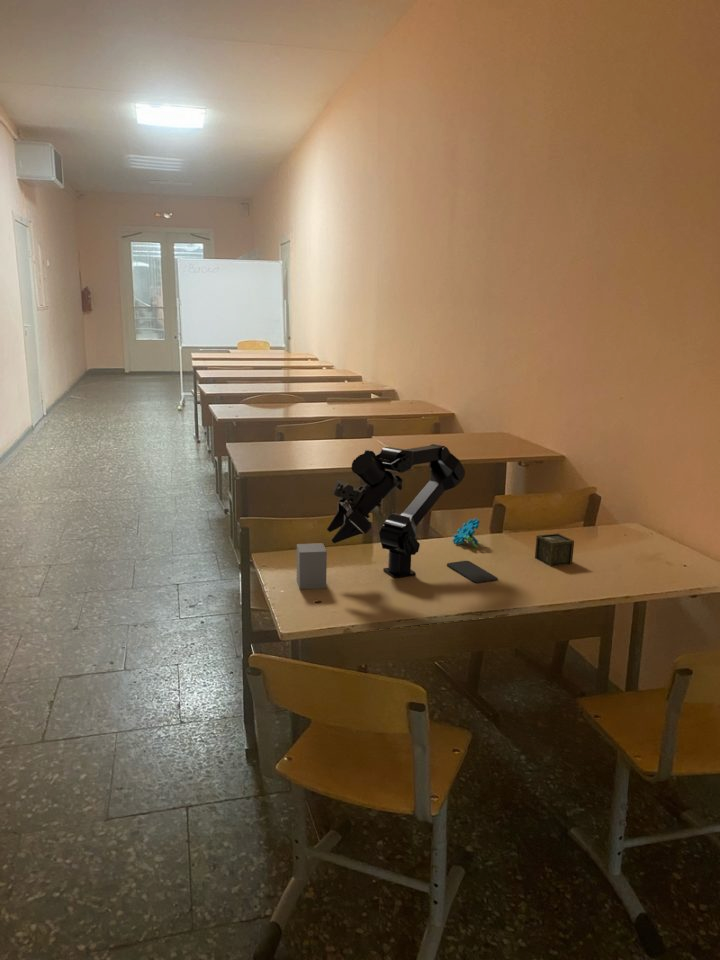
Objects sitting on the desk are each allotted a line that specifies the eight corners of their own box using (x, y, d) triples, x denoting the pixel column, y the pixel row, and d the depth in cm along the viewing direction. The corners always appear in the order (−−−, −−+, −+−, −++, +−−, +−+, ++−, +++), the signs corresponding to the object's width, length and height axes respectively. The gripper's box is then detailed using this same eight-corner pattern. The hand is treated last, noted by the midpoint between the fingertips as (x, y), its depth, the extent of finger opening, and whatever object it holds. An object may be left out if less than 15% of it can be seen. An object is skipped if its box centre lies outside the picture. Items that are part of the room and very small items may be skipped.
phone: (475, 582, 179) (444, 563, 193) (475, 585, 180) (444, 566, 193) (499, 578, 182) (468, 560, 196) (499, 581, 183) (468, 562, 196)
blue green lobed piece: (450, 532, 218) (475, 511, 215) (463, 544, 219) (488, 525, 216) (452, 547, 207) (478, 527, 204) (465, 561, 208) (491, 540, 206)
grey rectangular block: (322, 578, 180) (322, 543, 178) (326, 588, 174) (326, 551, 172) (296, 579, 179) (296, 544, 177) (299, 589, 173) (299, 552, 171)
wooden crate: (534, 559, 201) (536, 535, 199) (556, 557, 203) (558, 533, 201) (549, 568, 194) (552, 543, 192) (571, 565, 196) (574, 540, 195)
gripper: (346, 462, 182) (304, 505, 182) (357, 478, 164) (310, 525, 164) (376, 490, 185) (334, 533, 185) (390, 509, 167) (344, 556, 167)
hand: (330, 536), depth 175 cm, fingers open, 9 cm apart
